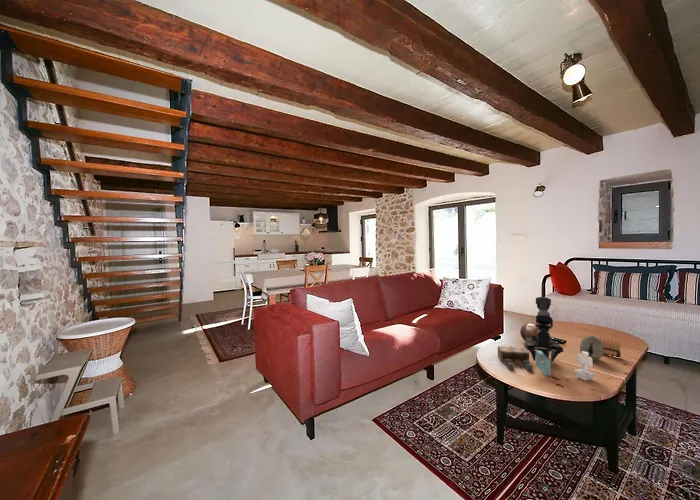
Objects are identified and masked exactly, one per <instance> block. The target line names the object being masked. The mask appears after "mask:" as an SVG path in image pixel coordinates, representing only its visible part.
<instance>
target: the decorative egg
mask: <svg viewBox="0 0 700 500" xmlns="http://www.w3.org/2000/svg"><path fill="white" fill-rule="evenodd" d="M579 351H580V354H582V351H585V352H588V353H589V355H588V357H591V358H592V360H593V361H597V360H600V359H601V358H602V357H603V356H604V355H603V353H604V348H603V342H602V343H601V341H600V338H598V337H596V336H594V335H587V336H585V337H584V338H582V339H581V341H580V344H579Z"/></svg>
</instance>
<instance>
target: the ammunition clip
mask: <svg viewBox="0 0 700 500" xmlns="http://www.w3.org/2000/svg"><path fill="white" fill-rule="evenodd" d="M599 340H600V341H601V343H602V345H603V348H604V353H603V354H605V355H611V356H616V357H621V340H620V339H618V340H617V339H616V338H615V339H614V341H613V338H610V339H609V337H607V338H606V336H603V337H602V336H600V337H599ZM605 355H604V356H605Z"/></svg>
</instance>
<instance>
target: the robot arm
mask: <svg viewBox="0 0 700 500" xmlns="http://www.w3.org/2000/svg"><path fill="white" fill-rule="evenodd" d="M535 305H536V308H537V310H538V311H537V315H535V324H536V327H538V335H537V337H535V336H531V341H534V343H535V344H532V343H528V342H526V341H525V342H524V345H523V346H524V347H523V348H525V349H526V350H527V351H528V352H529V353H530V354H531V357H532V359H533V361H534V362H536V350H538V351H542V352H543V353H544V354H545V355H546V356H547V357H548V358H549V359H550V360H551V363H553V362H554V361H555V359H556V358H557V357H558V355H559V354H561V353H564V348H563V346H561V345H560V344H557V343H552V342H551V339H550V337H551V335H550V330H552V329H553V327H554V321H553V320H554V319H553V317H552V316H551V314H550V312H549V309H550V306H552V299H551V298H549V297H546V296H538V297H536V298H535ZM537 324H538V325H537ZM550 353H551V355H550Z"/></svg>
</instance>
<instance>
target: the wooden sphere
mask: <svg viewBox="0 0 700 500" xmlns="http://www.w3.org/2000/svg"><path fill="white" fill-rule="evenodd" d="M537 325H538V323H537ZM519 334H520V336H521V338H522V340H523V341H525V342H528V343H532V344H533V345H535V343H534V341H531V336H535V337H537V335H538V327H536V322H526V323H524V324H523V325H522V326H521V327H520V332H519Z"/></svg>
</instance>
